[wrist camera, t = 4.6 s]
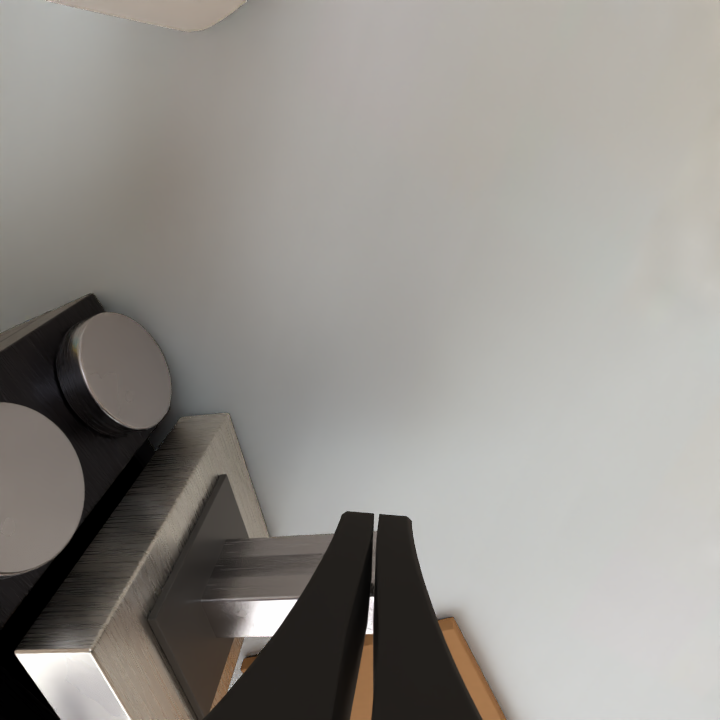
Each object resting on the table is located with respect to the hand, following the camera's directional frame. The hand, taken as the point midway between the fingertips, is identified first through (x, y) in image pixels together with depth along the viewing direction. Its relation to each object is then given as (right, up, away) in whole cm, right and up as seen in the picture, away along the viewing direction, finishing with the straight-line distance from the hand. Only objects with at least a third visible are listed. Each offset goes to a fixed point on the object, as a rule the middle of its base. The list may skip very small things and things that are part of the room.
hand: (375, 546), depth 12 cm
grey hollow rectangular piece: (-2, 0, +5) cm, 5 cm away
